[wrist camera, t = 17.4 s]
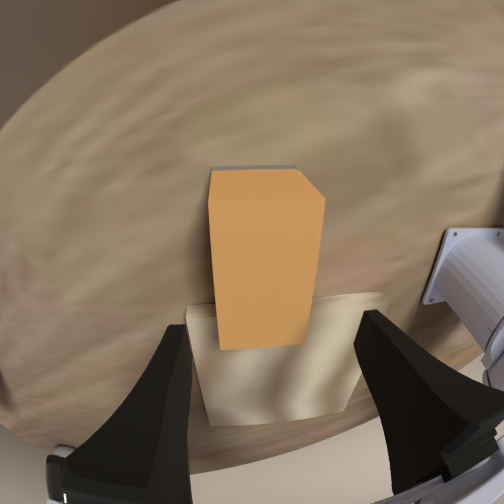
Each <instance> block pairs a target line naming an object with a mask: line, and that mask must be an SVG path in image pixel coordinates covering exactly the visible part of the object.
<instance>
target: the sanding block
mask: <svg viewBox="0 0 504 504" xmlns="http://www.w3.org/2000/svg"><path fill="white" fill-rule="evenodd" d="M208 208H209V224H210V239H211V253H212V266H213V278H214V290H215V301H216V312H217V323H218V333H219V342H220V350H232V349H249V348H263V347H275V346H286V345H296V344H305V338H306V333H307V327H308V321H309V316H310V310H311V304H312V297H313V291H314V285H315V278H316V271H317V264H318V257H319V250H320V242H321V234H322V226H323V217H324V208H325V198H324V197H323V196H322V195H321V194H320V193H319V191H318V190H317V189H316V188H315V187H314V186H313V185H312V184H311V183H310V181H309V180H308V179H307V178H306V177H305V176H304V175H303V174H302V173H301V172H300V171H299V169H298V168H297V167H296V166H289V165H270V166H225V167H212V172H211V180H210V190H209V199H208Z"/></svg>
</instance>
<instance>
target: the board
mask: <svg viewBox="0 0 504 504" xmlns="http://www.w3.org/2000/svg"><path fill="white" fill-rule="evenodd" d="M388 304H389V300H388V299H387V297H386V296H385V294H384V293H383V291H374V292H365V293H355V294H345V295H334V296H323V297H312V304H311V310H310V316H309V321H308V327H307V333H306V338H305V344H296V345H286V346H275V347H263V348H249V349H232V350H220V342H219V333H218V323H217V312H216V304H193V305H187V312H186V321H187V327H188V332H189V337H190V342H191V347H192V352H193V357H194V361H195V366H196V370H197V375H198V379H199V384H200V388H201V392H202V396H203V400H204V405H205V409H206V413H207V416H208V420H209V424H210V427H221V426H241V425H255V424H266V423H276V422H284V421H292V420H299V419H306V418H313V417H319V416H324V415H330V414H335V413H340V412H343V411H344V409H345V407H346V405H347V403H348V401H349V399H350V396H351V394H352V392H353V390H354V388H355V386H356V384H357V382H358V379H359V377H360V375H361V373H362V371H361V369H360V366H359V363H358V360H357V357H356V353H355V349H354V346H353V343H354V340H355V337H356V334H357V331H358V328H359V325H360V322H361V318H362V315H363V312H364V311H366V310H374V309H377V310H378V311H379V312H381V313H382V314H383V315H384V316H385V313H386V310H387V307H388Z"/></svg>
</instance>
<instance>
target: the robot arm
mask: <svg viewBox="0 0 504 504" xmlns="http://www.w3.org/2000/svg"><path fill="white" fill-rule="evenodd" d="M444 301H446V302H447V303H448V305H449V306H450V307H451V308H452V310H453V311H454V312H455V313H456V315H457V316H458V317H459V319H460V320H461V321H462V322H463V324H464V325H465V326H466V328H467V329H468V330H469V332H470V333H471V334H472V336H473V337H474V338H475V340H476V341H477V343H478V344H479V345H480V347H481V348H482V350H483V351H484V352H485V355H484V356H483V358H482V359H481V361H482V363H483V365H484V366H485V368H486V369H485V370H484V373H483V377H482V380H483V384H482V383H480V382H477V381H475V380H472V379H471V378H469V377H467V376H465V375H463V374H461V373H459V372H457V371H455V370H454V369H452V368H450V367H449V366H447V365H446V364H444V363H443V362H441V361H439V360H438V359H437V358H435V357H434V356H432V355H431V354H430V353H428V352H427V351H426V350H424V349H423V348H422V347H420V346H419V345H418V344H417V343H416V342H414V341H413V340H412V339H411V338H410V337H408V336H407V335H406V334H405V333H404V332H403V331H401V330H400V329H399V328H398V327H397V326H396V325H395V324H393V323H392V322H391V321H390V320H389V319H388V318H387V317H385V316H384V315H383V314H382V313H381V312H379V311H378V310H377V309H374V310H366V311H364V312H363V315H362V318H361V322H360V325H359V328H358V331H357V334H356V337H355V340H354V343H353V346H354V349H355V353H356V357H357V360H358V363H359V366H360V369H361V371H362V373H363V376H364V378H365V380H366V383H367V385H368V387H369V390H370V392H371V394H372V397H373V399H374V402H375V404H376V407H377V409H378V412H379V415H380V419H381V423H382V427H383V431H384V435H385V440H386V444H387V449H388V456H389V461H390V470H391V481H392V491H393V494H394V496H392V497H389V498H386V499H383V500H380V501H377V502H374V503H371V504H412V503H414V502H415V503H414V504H491V503H492V502H494V501H495V500H496V499H497V498H498V497H499V496H500V495H502V494H503V493H504V435H503V436H502V437H500V438H499V439H498V440H497V441H496V440H495V438H494V436H496V435H497V432H496V430H495V427H497V426H498V424H500V423H501V422H502V421H503V420H504V228H448V229H447V230H446V232H445V235H444V238H443V242H442V245H441V248H440V251H439V255H438V258H437V261H436V264H435V267H434V269H433V272H432V275H431V278H430V281H429V283H428V286H427V289H426V291H425V294H424V296H423V299H422V302H423V304H424V305H428V304H433V303H439V302H444ZM191 388H192V355H191V351H190V346H189V341H188V336H187V331H186V326H185V324H182V325H169V326H168V327H167V329H166V331H165V334H164V336H163V338H162V340H161V342H160V344H159V346H158V348H157V350H156V352H155V353H154V355H153V357H152V359H151V361H150V362H149V364H148V366H147V368H146V369H145V371H144V372H143V374H142V376H141V377H140V379H139V380H138V382H137V383H136V385H135V386H134V388H133V389H132V391H131V392H130V393H129V395H128V396H127V397H126V399H125V400H124V401H123V403H122V404H121V405H120V406H119V408H118V409H117V410H116V411H115V412H114V413H113V415H112V416H111V417H110V418H109V419H108V420H107V421H106V422H105V423H104V424H103V425H102V426H101V427H100V428H99V429H98V430H97V431H96V432H95V433H94V434H93V435H92V436H91V437H90V438H89V439H88V440H87V441H86V442H84V443H83V444H82V445H81V446H79V447H78V448H77V449H76V450H74V451H73V452H72V453H71V454H69V455H68V456H67V457H66V459H65V462H64V465H63V468H62V473H61V479H60V485H59V489H60V490H61V492H62V493H64V494H66V495H67V496H69V497H71V498H73V499H75V500H77V501H79V502H81V503H82V504H191V498H190V487H189V474H188V455H187V427H188V417H189V407H190V397H191ZM46 504H65V503H62V502H59V501H56V500H53V499H50V498H48V499H47V503H46Z"/></svg>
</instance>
